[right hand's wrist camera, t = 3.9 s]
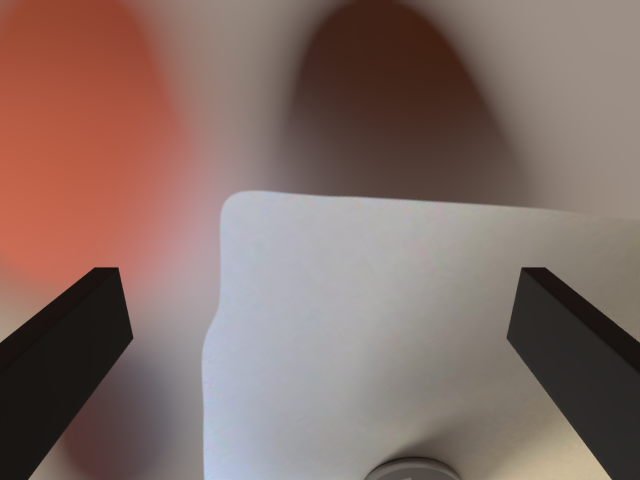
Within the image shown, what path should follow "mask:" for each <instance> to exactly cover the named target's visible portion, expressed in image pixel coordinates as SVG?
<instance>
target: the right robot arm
mask: <svg viewBox="0 0 640 480" xmlns="http://www.w3.org/2000/svg"><path fill="white" fill-rule="evenodd" d="M132 340H133V334H132V329H131V325H130V320H129V315H128V311H127V306H126V301H125V297H124V292H123V287H122V283H121V278H120V273H119V269H118V267H95V268H93V269H92V270H91V271H90V272H88V273H87V274H86V275H85V276H83V277H82V278H81V279H80V280H78V281H77V282H76V283H75V284H73V285H72V286H71V287H70V288H68V289H67V290H66V291H65V292H63V293H62V294H61V295H60V296H58V297H57V298H56V299H55V300H53V301H52V302H51V303H50V304H48V305H47V306H46V307H45V308H43V309H42V310H41V311H40V312H38V313H37V314H36V315H34V316H33V317H32V318H31V319H29V320H28V321H27V322H26V323H24V324H23V325H22V326H21V327H19V328H18V329H17V330H16V331H14V332H13V333H12V334H11V335H9V336H8V337H7V338H6V339H4V340H3V341H2V342H1V343H0V480H28V479H29V478H30V476H31V475H32V474H33V472H34V471H35V470H36V468H37V467H38V466H39V464H40V463H41V462H42V460H43V459H44V458H45V456H46V455H47V454H48V452H49V451H50V450H51V448H52V447H53V446H54V444H55V443H56V441H57V440H58V439H59V438H60V436H61V435H62V433H63V432H64V431H65V429H66V428H67V427H68V425H69V424H70V423H71V421H72V420H73V419H74V417H75V416H76V415H77V413H78V412H79V411H80V409H81V408H82V407H83V405H84V404H85V403H86V401H87V400H88V399H89V397H90V396H91V395H92V393H93V392H94V391H95V389H96V388H97V386H98V385H99V384H100V382H101V381H102V380H103V378H104V377H105V376H106V374H107V373H108V372H109V370H110V369H111V368H112V366H113V365H114V364H115V362H116V361H117V360H118V358H119V357H120V356H121V354H122V353H123V352H124V350H125V349H126V348H127V346H128V345H129V343H130V342H131V341H132ZM507 340H508V341H509V342H510V344H511V345H512V346H513V348H514V349H515V350H516V352H517V353H518V354H519V356H520V357H521V358H522V360H523V361H524V362H525V364H526V365H527V366H528V368H529V369H530V370H531V372H532V373H533V374H534V376H535V377H536V378H537V380H538V381H539V382H540V384H541V385H542V386H543V388H544V389H545V391H546V392H547V393H548V395H549V396H550V397H551V399H552V400H553V401H554V403H555V404H556V405H557V407H558V408H559V409H560V411H561V412H562V413H563V415H564V416H565V417H566V419H567V420H568V421H569V423H570V424H571V425H572V427H573V428H574V429H575V431H576V432H577V433H578V435H579V436H580V438H581V439H582V440H583V442H584V443H585V444H586V446H587V447H588V448H589V450H590V451H591V452H592V454H593V455H594V456H595V458H596V459H597V460H598V462H599V463H600V464H601V466H602V467H603V468H604V470H605V471H606V472H607V474H608V475H609V476H610V478H611V479H612V480H640V343H639V342H638V341H637V340H636V339H634V338H633V337H632V336H631V335H629V334H628V333H627V332H626V331H624V330H623V329H622V328H621V327H619V326H618V325H617V324H616V323H614V322H613V321H612V320H611V319H609V318H608V317H607V316H606V315H604V314H603V313H602V312H601V311H599V310H598V309H597V308H595V307H594V306H593V305H592V304H590V303H589V302H588V301H587V300H585V299H584V298H583V297H582V296H580V295H579V294H578V293H577V292H575V291H574V290H573V289H572V288H570V287H569V286H568V285H567V284H565V283H564V282H563V281H562V280H560V279H559V278H558V277H557V276H555V275H554V274H553V273H552V272H550V271H549V270H548V269H547V268H545V267H522V269H521V273H520V278H519V283H518V287H517V292H516V297H515V301H514V306H513V311H512V315H511V320H510V325H509V329H508V334H507ZM365 480H460V479H459V477H458V475H457V474H456V473H455V472H454V471H453V470H452V469H451V468H449V467H448V466H446V465H444V464H442V463H440V462H438V461H435V460H431V459H426V458H404V459H399V460H395V461H392V462H389V463H386V464H384V465H382V466H380V467H378V468H377V469H375V470H374V471H372V472H371V473H370V474H369V475H368V476H367V477H366V478H365Z"/></svg>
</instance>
